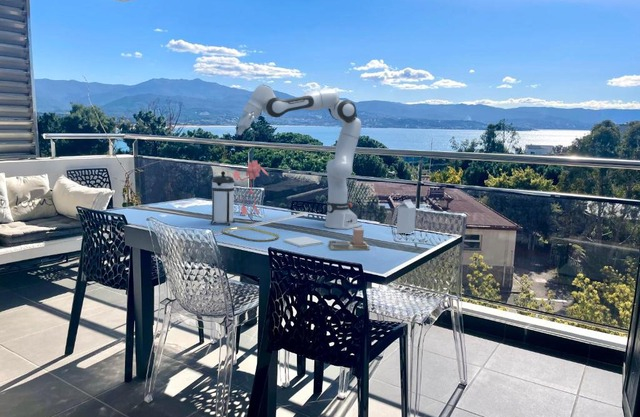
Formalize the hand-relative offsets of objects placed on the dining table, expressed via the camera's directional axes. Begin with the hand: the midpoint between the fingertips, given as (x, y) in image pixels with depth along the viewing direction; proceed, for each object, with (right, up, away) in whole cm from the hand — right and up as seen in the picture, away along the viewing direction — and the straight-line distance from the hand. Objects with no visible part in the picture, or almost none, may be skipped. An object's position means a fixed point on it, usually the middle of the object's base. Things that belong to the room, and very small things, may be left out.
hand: (238, 134), depth 262 cm
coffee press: (-12, -48, +21) cm, 54 cm away
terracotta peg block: (+62, -58, -27) cm, 89 cm away
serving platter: (+7, -54, -7) cm, 55 cm away
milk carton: (+91, -54, +11) cm, 106 cm away
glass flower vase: (+1, -44, +50) cm, 67 cm away
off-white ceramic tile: (+35, -56, -20) cm, 69 cm away
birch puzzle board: (+57, -58, -28) cm, 86 cm away
